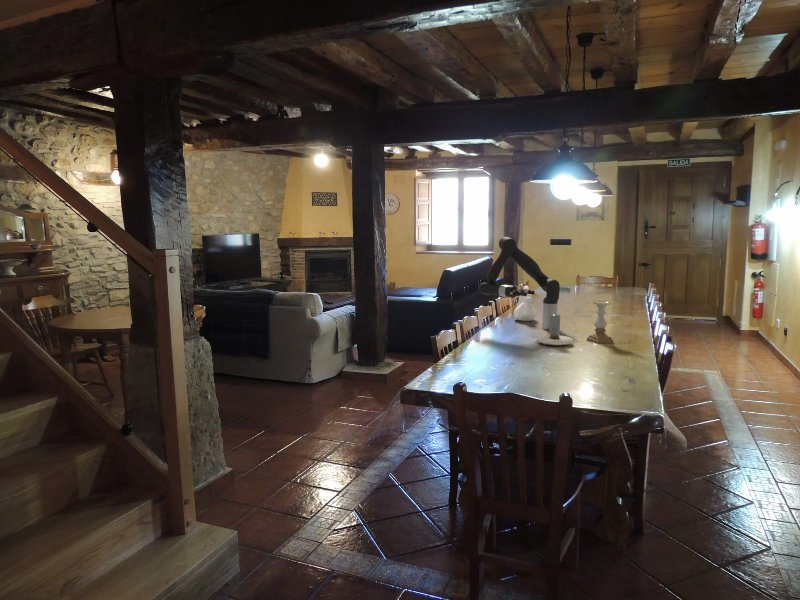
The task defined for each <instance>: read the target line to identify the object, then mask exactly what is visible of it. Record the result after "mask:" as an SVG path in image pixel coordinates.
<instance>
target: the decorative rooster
mask: <svg viewBox="0 0 800 600" xmlns="http://www.w3.org/2000/svg"><path fill="white" fill-rule="evenodd" d="M522 289H526V290H530V287H529V285H524V286H523V288H522ZM532 296H533V295H532V294H527V296H518V300H517V304H516V307H515V309H513V316H514V318H515V319H516V320H518V321H522V322H531V321H533V320H534V319H536V315H537V311H536V309H535V307H534V305H533V304H532V302H533V300H532V299H533V297H532Z"/></svg>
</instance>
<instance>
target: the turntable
mask: <svg viewBox="0 0 800 600" xmlns="http://www.w3.org/2000/svg"><path fill="white" fill-rule="evenodd" d="M537 342H539V343H540V344H542V343H544V344H551V345H566V344H567V345H570V344H572V343H573V338H572V337H569V336H565V335H560V337H559V339H550V334H545V335H539V336H537ZM544 344H543V345H544ZM567 345H566V346H567Z"/></svg>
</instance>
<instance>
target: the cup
mask: <svg viewBox="0 0 800 600" xmlns="http://www.w3.org/2000/svg"><path fill="white" fill-rule="evenodd" d="M560 331H561V314H558V313H557V314H551V317H550V330H549V335H550V339H559V337H560V336H561V335H560V334H561V332H560Z"/></svg>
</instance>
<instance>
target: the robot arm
mask: <svg viewBox="0 0 800 600" xmlns="http://www.w3.org/2000/svg"><path fill="white" fill-rule="evenodd" d="M498 247H499V249H500V250H501V251H500V253H499V255H498V257H497V259H496V260H495V261H494V262H493V263H492V265H491V266H490V268H489V270H488V272H487V274H486V276H485V278H486V279H487V282H481V283H480V284H479V285H478V291H479V292H480V293H481V294H482V295H485V296H491V295H493V296H498V297H503V298H512V299H514V298H515V297H519V296H527V294H532V296H534V295H535V293H536V292H535V290H531V289H529V290H526V289H523V288H517V287H516V286H515V285H510V284H497V280H498V278H499V276H500V274H501V272H502V270H503V268H504V266H505V265H506V263H507V262H508V259H509V258H511V259H513V261H514V263H516V264H517V265H518V266H519V267H520V268H521V270H523V271H524V273H526V274H527V275H529V277H530V278H531V279H533V280H534V281H535V282H536V283H537V284H538V285H539V287H540V288H541V289H542V290H543V291H544V292H546V293H545V297H544V298H543V300H542V302H543V303H542V329H543V330H548V331H550V317H551V314H558V302H559V299H560V292H561V291H560V289H561V287H560V282H559V281H558V280H557V279H554V278H550V277H548V275H546V274H545V273H544V272H543V271H542V270H541V267H540V266H539V264H538V263H537V262H536V261H535V260H534V258H532V256H530V255H529V254H527V253H526V252H524V251H522V250H521V249H520V248H519V247H518V246H517V241H516V240H515V239H514V238H512V237H509V236H502V237H501V238H499V241H498Z"/></svg>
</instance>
